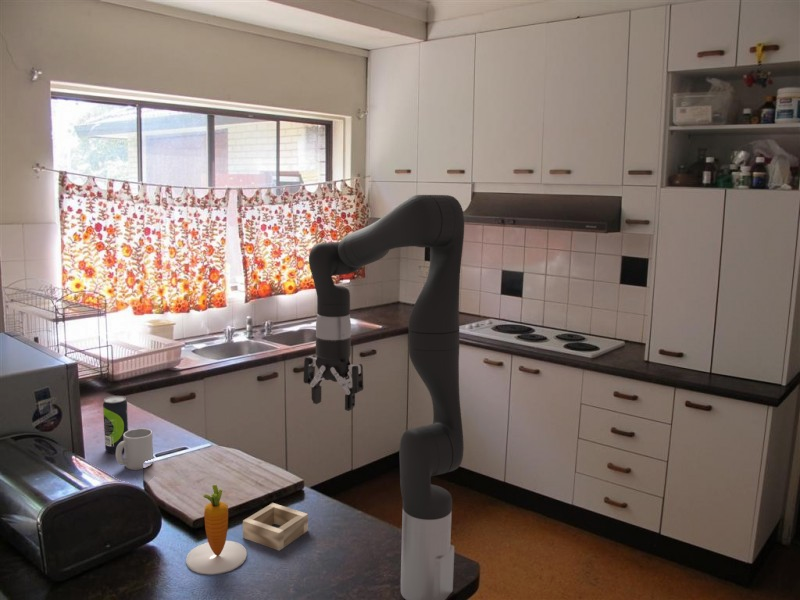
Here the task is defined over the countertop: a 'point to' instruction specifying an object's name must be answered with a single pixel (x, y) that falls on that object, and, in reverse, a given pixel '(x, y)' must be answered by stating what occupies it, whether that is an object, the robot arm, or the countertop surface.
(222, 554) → the domed disc
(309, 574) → the countertop surface
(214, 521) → the carrot
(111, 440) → the beverage can
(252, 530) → the pocket frame
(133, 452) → the cup
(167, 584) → the countertop surface
